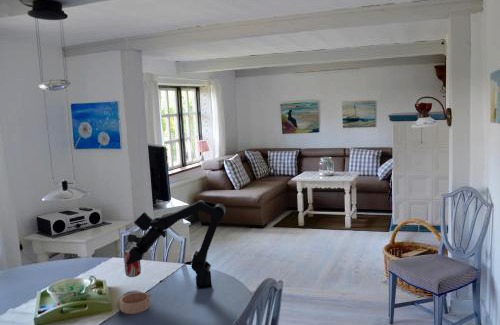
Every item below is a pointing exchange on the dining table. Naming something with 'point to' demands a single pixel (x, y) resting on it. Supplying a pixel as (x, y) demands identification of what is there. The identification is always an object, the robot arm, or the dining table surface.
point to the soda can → (131, 266)
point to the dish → (134, 302)
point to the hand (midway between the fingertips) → (129, 261)
